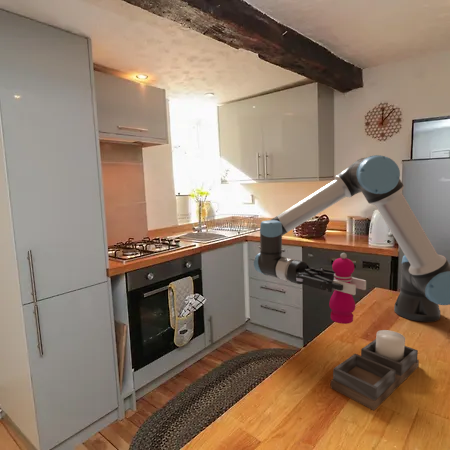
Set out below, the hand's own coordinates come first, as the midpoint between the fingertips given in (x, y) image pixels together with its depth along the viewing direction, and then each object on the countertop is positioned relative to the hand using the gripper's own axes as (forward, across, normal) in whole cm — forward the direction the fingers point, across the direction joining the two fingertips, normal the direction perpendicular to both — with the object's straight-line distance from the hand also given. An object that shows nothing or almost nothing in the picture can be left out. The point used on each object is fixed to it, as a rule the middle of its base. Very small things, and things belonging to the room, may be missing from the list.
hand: (360, 287), depth 92 cm
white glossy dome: (+7, -4, -20) cm, 21 cm away
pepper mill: (-5, 0, -11) cm, 12 cm away
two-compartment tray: (+7, +3, -22) cm, 23 cm away
